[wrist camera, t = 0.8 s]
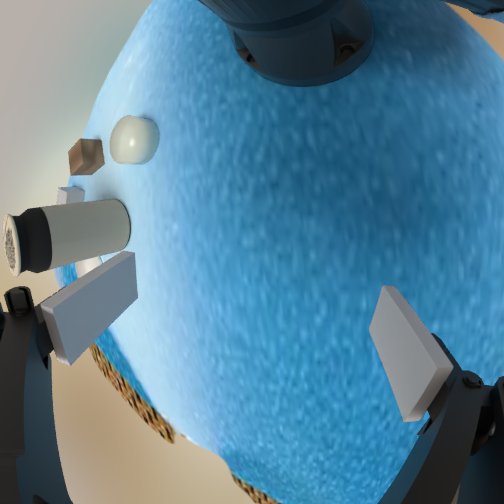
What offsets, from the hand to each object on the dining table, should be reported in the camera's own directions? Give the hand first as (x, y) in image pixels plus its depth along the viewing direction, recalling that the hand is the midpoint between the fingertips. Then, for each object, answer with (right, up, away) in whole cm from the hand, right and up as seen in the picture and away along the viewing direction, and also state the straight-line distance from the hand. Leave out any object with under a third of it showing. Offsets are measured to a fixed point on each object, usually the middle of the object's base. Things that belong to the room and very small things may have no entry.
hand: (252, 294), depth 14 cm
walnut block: (-26, +18, +25) cm, 40 cm away
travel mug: (-21, +6, +25) cm, 33 cm away
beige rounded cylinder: (-15, +17, +20) cm, 30 cm away
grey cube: (-31, +12, +29) cm, 44 cm away
